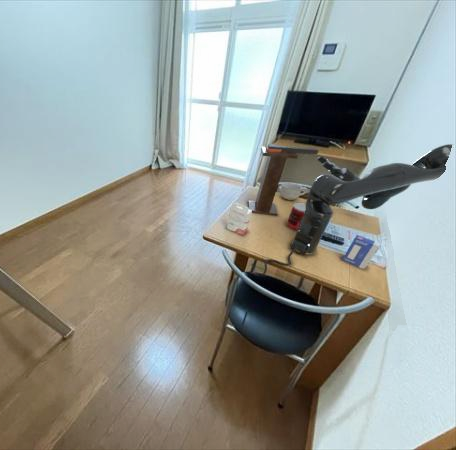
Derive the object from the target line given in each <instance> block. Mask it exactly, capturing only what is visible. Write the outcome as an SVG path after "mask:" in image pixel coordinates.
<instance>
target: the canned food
mask: <svg viewBox="0 0 456 450" xmlns="http://www.w3.org/2000/svg"><path fill="white" fill-rule="evenodd" d="M305 210H306V203H304V202H296V203H293V205H292V208H291V210H290V213H289V216H288V219H287V220H286V226H287V227H288V228H290V229H292V230H295V231H297V229H298V227H299V224H300V222H301V220H302V217H303V215H304V212H305Z"/></svg>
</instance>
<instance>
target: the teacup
mask: <svg viewBox="0 0 456 450" xmlns="http://www.w3.org/2000/svg"><path fill="white" fill-rule="evenodd" d="M302 191H303V192H302ZM307 193H308V188H307V187H303V186H302V185H300V184H298V183H295V182H287V181H286V182H283V183H281V187H280V190H279V195H280V197H281V198H283V199H284V200H288V201H293V200H296V199H298V198H299V197H300V196H303V195H305V194H307Z"/></svg>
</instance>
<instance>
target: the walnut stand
mask: <svg viewBox="0 0 456 450" xmlns="http://www.w3.org/2000/svg"><path fill="white" fill-rule="evenodd" d="M266 147H267V146H260V152H261V155H262V157H266V162H265V166H264V169H263V173H262V176H261V180H260V184H259V188H258V190H257V195H256V199H255V200H249V199H248V201H247V204H248V208H249V209H250V210H252V213H254V214H261V215H268V216H276V217H278V215H279V214H278V211H277V208H276V204H275V202H274V199H275V196H276V194H277V190H278V187H279V184H280V181H281V178H282V175H283V171H284V168H285V164H286V162H287V159H294V160H295V159H298V157H299V155H298V153H291V152H268V151H267V149H266ZM252 213H251V214H252Z"/></svg>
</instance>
